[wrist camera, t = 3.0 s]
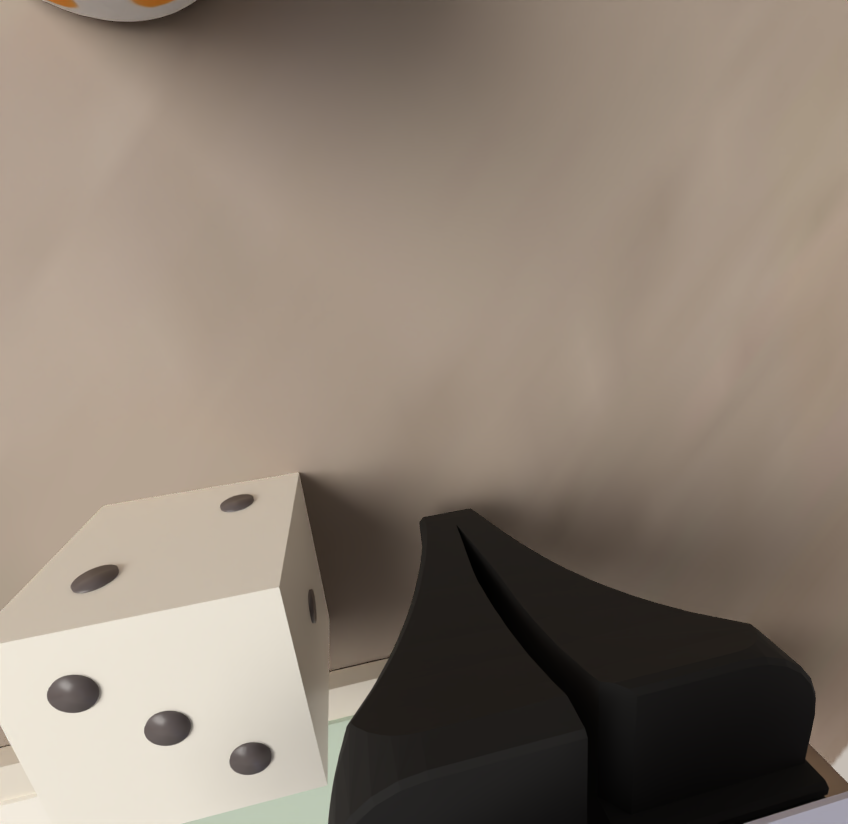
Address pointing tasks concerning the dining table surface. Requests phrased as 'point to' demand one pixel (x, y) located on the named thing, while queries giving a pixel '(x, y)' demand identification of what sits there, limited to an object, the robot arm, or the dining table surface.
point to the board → (272, 820)
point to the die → (172, 659)
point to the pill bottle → (122, 8)
